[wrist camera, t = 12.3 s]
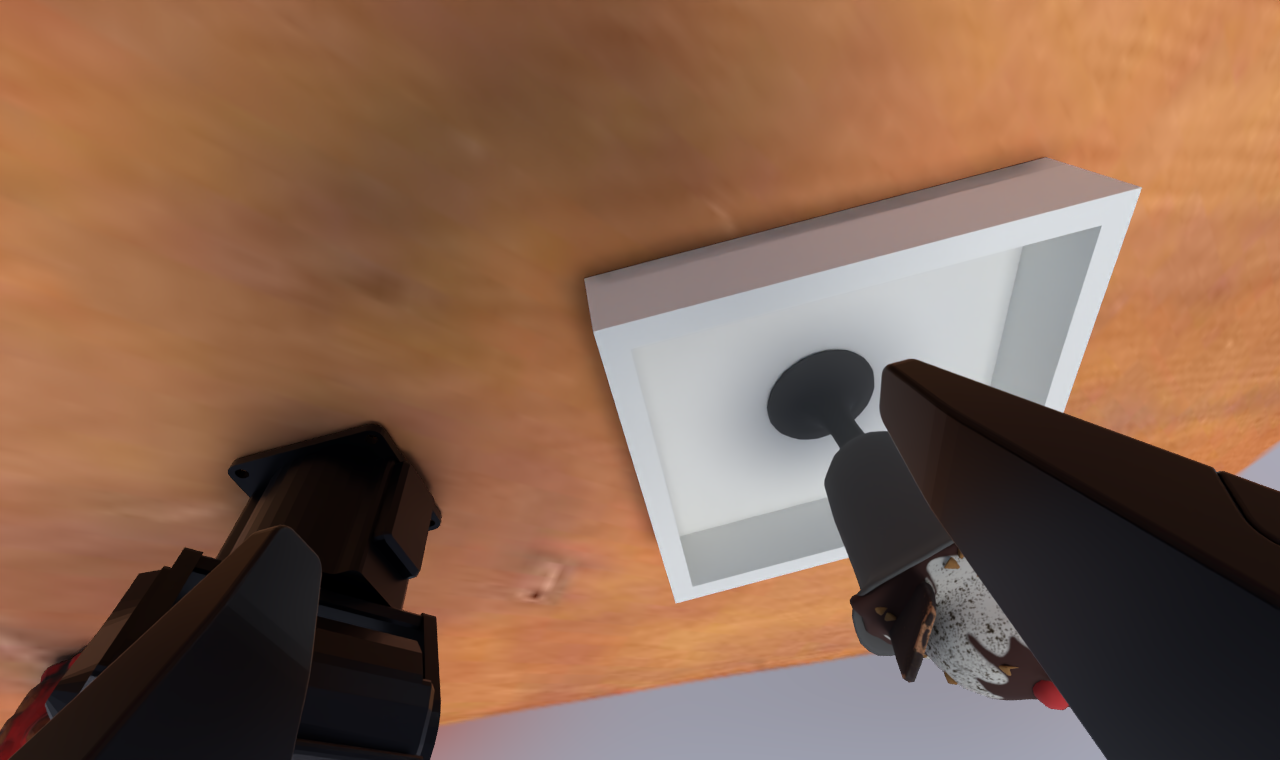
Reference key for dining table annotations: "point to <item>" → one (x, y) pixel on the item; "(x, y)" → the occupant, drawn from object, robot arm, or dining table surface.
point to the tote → (839, 345)
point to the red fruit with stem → (31, 711)
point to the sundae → (902, 544)
